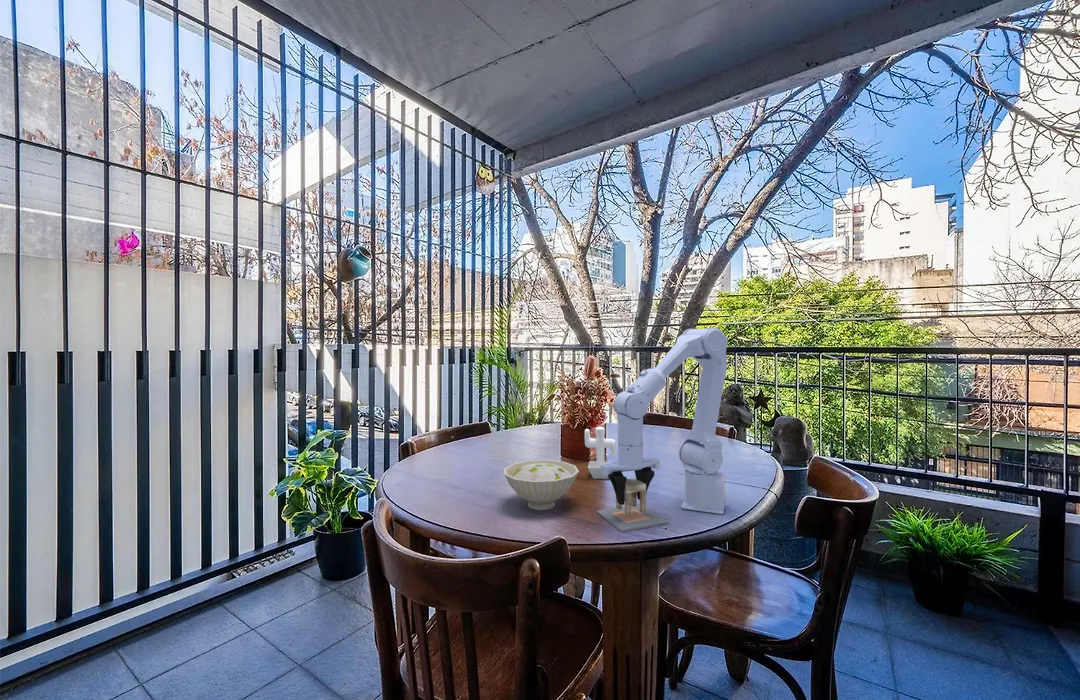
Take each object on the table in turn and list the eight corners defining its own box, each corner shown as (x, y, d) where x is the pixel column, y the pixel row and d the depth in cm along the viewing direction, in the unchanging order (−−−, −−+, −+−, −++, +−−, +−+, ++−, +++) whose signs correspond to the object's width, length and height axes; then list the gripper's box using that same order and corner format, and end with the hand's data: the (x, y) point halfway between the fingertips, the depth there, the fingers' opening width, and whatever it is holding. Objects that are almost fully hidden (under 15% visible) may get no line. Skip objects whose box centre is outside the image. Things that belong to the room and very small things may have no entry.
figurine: (616, 480, 135) (615, 430, 134) (584, 479, 136) (583, 429, 136) (616, 473, 142) (616, 425, 141) (585, 472, 143) (585, 424, 143)
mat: (639, 505, 115) (639, 503, 115) (668, 523, 103) (668, 521, 103) (596, 512, 110) (596, 510, 110) (621, 532, 99) (621, 529, 99)
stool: (634, 505, 110) (634, 478, 110) (646, 512, 105) (645, 484, 105) (616, 507, 108) (615, 480, 108) (627, 515, 104) (626, 486, 104)
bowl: (494, 497, 122) (493, 460, 122) (560, 488, 129) (560, 452, 129) (517, 525, 104) (516, 481, 104) (593, 512, 111) (592, 471, 111)
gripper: (647, 437, 113) (647, 492, 113) (594, 442, 108) (595, 500, 108) (664, 443, 106) (665, 501, 106) (609, 449, 101) (609, 510, 101)
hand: (631, 501), depth 107 cm, fingers closed on stool, 5 cm apart
